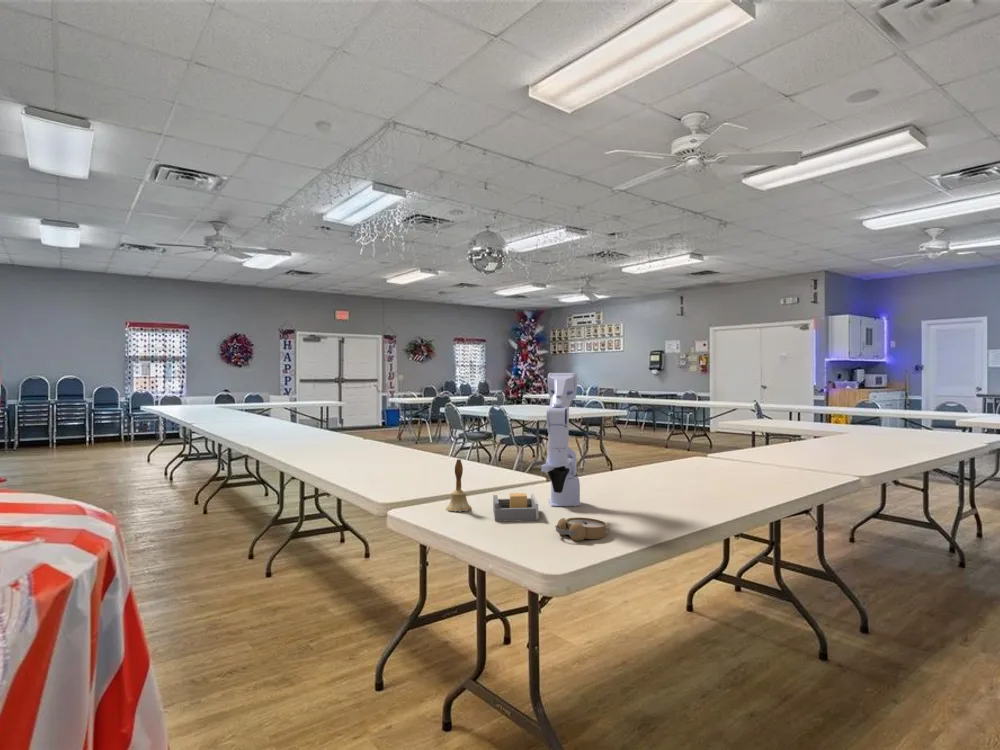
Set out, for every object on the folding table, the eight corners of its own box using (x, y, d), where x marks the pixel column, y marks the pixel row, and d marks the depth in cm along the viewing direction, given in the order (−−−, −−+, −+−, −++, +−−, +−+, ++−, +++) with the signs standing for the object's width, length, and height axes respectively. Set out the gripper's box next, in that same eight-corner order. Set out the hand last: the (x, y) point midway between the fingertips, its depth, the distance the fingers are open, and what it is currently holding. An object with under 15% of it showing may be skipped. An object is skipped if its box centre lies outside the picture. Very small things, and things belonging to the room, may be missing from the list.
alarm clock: (616, 525, 153) (574, 524, 145) (613, 543, 152) (571, 543, 144) (588, 516, 162) (547, 514, 154) (585, 533, 162) (544, 533, 154)
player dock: (530, 509, 181) (530, 493, 181) (535, 520, 168) (535, 503, 168) (493, 509, 180) (493, 494, 180) (495, 521, 167) (494, 504, 167)
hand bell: (447, 505, 186) (447, 457, 186) (472, 505, 186) (472, 457, 185) (444, 512, 178) (443, 462, 177) (470, 512, 178) (470, 461, 177)
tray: (533, 508, 181) (533, 493, 181) (538, 519, 168) (538, 503, 168) (497, 509, 180) (497, 494, 180) (500, 520, 167) (500, 504, 167)
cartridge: (525, 509, 176) (525, 493, 176) (527, 512, 172) (527, 496, 172) (509, 509, 176) (509, 493, 176) (510, 512, 172) (510, 496, 172)
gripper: (560, 443, 179) (560, 485, 179) (532, 449, 168) (533, 494, 168) (579, 445, 175) (579, 489, 175) (552, 451, 163) (552, 498, 164)
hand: (558, 492), depth 171 cm, fingers closed
